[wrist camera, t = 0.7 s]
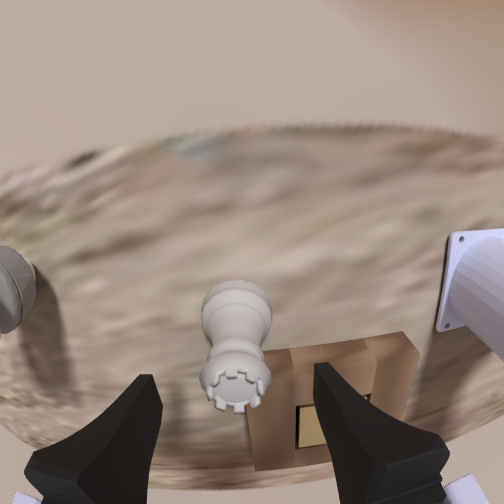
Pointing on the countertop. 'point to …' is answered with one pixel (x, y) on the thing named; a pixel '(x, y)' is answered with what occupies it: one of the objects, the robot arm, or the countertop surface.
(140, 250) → the countertop surface
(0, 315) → the light bulb
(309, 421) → the brass plunger
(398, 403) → the socket block
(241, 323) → the rook chess piece
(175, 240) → the countertop surface
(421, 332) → the countertop surface
